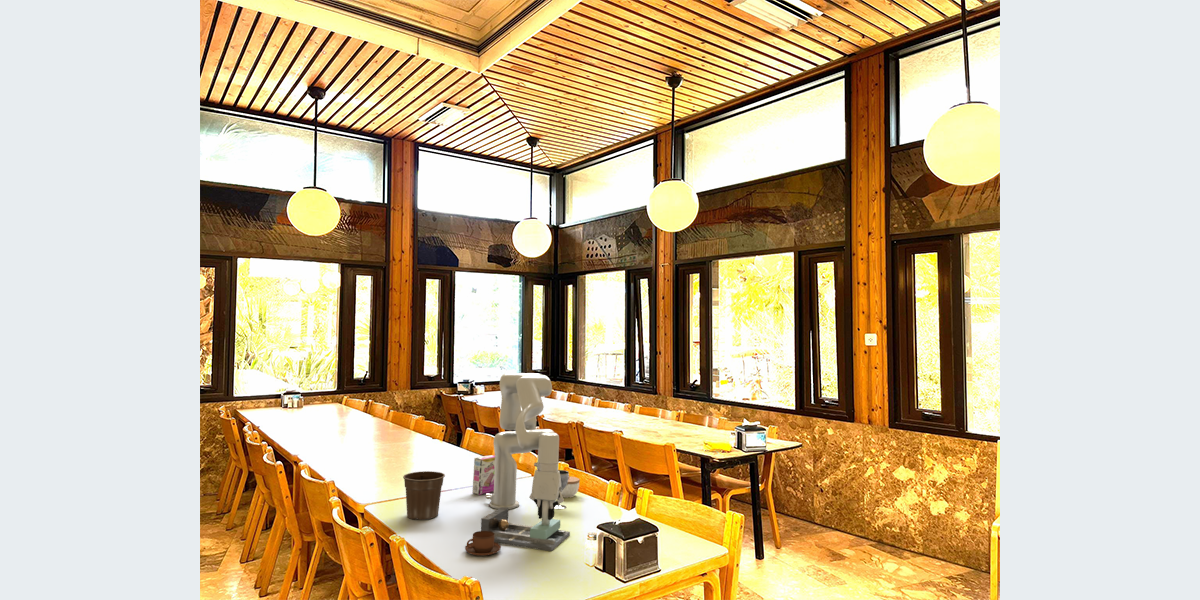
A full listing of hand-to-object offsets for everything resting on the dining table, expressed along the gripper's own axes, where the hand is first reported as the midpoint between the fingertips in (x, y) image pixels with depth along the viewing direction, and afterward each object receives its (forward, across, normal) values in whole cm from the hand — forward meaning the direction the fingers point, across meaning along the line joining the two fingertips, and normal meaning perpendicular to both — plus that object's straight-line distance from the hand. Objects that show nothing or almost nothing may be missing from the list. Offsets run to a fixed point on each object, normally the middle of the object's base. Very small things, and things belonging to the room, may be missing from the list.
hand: (545, 517), depth 225 cm
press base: (+8, -8, 0) cm, 11 cm away
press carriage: (+5, 0, 0) cm, 5 cm away
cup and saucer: (+9, -15, -19) cm, 26 cm away
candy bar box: (+8, -52, +51) cm, 73 cm away
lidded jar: (+8, -15, +62) cm, 64 cm away
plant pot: (+8, -57, +8) cm, 58 cm away
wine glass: (+8, -12, +43) cm, 45 cm away
